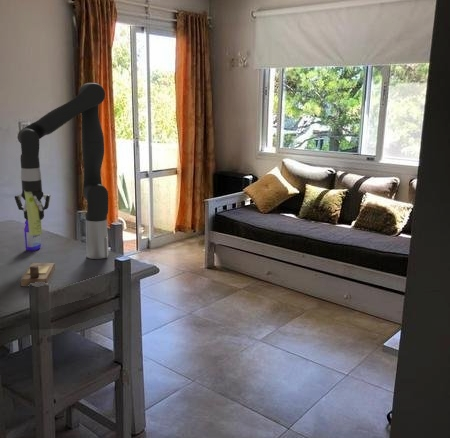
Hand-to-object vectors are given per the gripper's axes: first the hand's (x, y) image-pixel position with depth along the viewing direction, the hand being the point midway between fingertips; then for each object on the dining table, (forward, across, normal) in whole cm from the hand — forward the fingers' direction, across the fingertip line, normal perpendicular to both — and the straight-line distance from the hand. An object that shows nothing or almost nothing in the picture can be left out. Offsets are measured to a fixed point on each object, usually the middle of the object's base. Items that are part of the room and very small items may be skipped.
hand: (34, 219), depth 200 cm
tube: (+7, 0, 0) cm, 7 cm away
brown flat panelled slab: (+20, -4, +16) cm, 26 cm away
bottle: (+20, +6, -22) cm, 30 cm away
